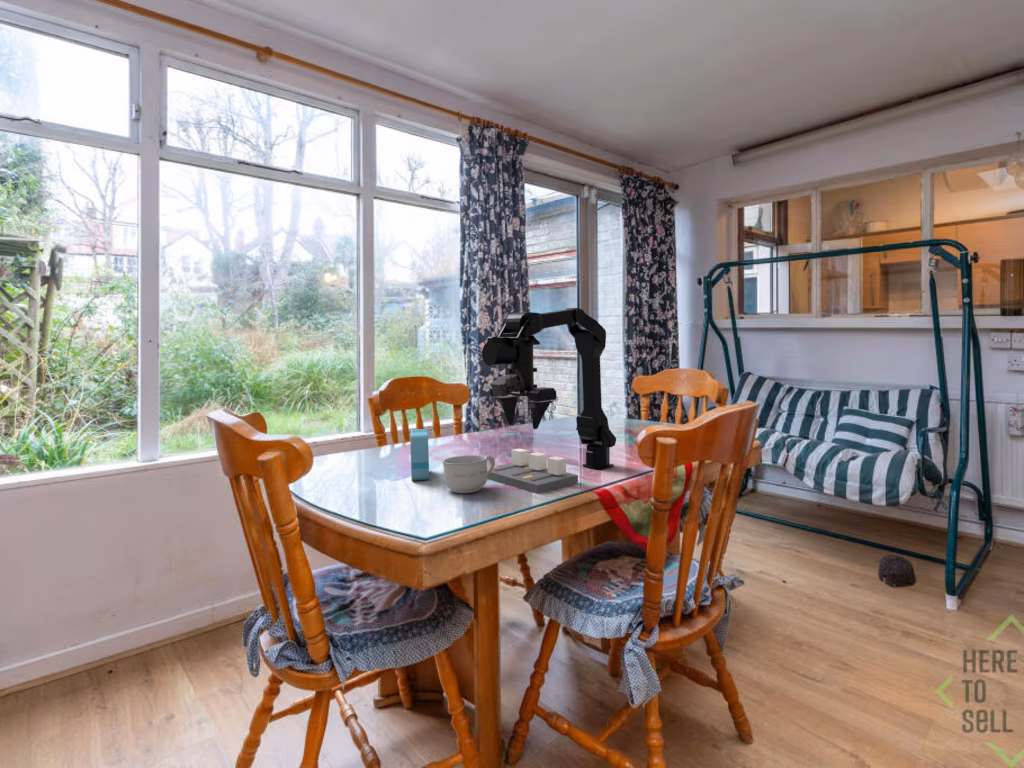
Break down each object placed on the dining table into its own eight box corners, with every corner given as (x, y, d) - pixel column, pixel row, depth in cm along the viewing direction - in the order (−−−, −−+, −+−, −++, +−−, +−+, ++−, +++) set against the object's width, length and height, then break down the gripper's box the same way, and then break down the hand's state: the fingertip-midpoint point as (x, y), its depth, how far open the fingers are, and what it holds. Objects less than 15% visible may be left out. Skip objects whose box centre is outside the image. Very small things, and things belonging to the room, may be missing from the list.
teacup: (453, 499, 133) (452, 465, 133) (436, 488, 143) (436, 456, 142) (507, 490, 140) (506, 458, 139) (487, 480, 149) (487, 450, 149)
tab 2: (555, 470, 149) (555, 456, 149) (566, 473, 146) (566, 458, 146) (547, 472, 147) (547, 458, 147) (557, 475, 144) (557, 460, 144)
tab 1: (519, 462, 159) (519, 448, 159) (528, 464, 157) (528, 450, 156) (511, 463, 158) (511, 450, 157) (520, 466, 155) (520, 452, 154)
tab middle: (537, 466, 154) (537, 452, 154) (546, 468, 151) (546, 454, 151) (528, 468, 152) (528, 453, 152) (538, 470, 150) (538, 456, 149)
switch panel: (519, 468, 163) (519, 460, 162) (577, 482, 146) (577, 474, 146) (480, 476, 154) (480, 469, 153) (537, 493, 137) (537, 484, 137)
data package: (429, 481, 150) (427, 435, 149) (411, 482, 149) (410, 436, 148) (429, 470, 162) (427, 427, 161) (412, 471, 161) (411, 428, 160)
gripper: (472, 364, 144) (473, 426, 145) (522, 367, 130) (523, 435, 131) (506, 362, 151) (507, 421, 152) (557, 364, 137) (558, 429, 138)
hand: (522, 426), depth 143 cm, fingers open, 9 cm apart
